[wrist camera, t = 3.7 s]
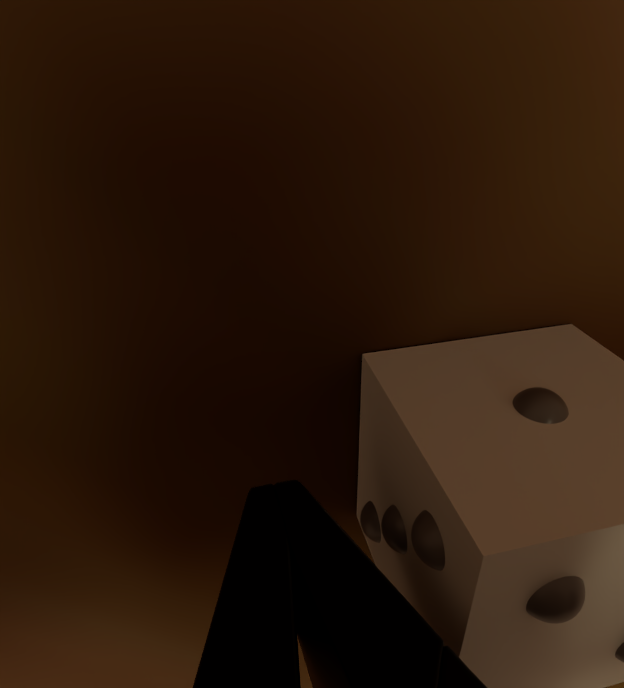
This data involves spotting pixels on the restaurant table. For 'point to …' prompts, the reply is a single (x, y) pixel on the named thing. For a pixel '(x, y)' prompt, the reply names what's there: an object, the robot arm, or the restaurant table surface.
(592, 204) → the restaurant table surface
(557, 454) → the die
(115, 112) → the restaurant table surface
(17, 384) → the restaurant table surface
